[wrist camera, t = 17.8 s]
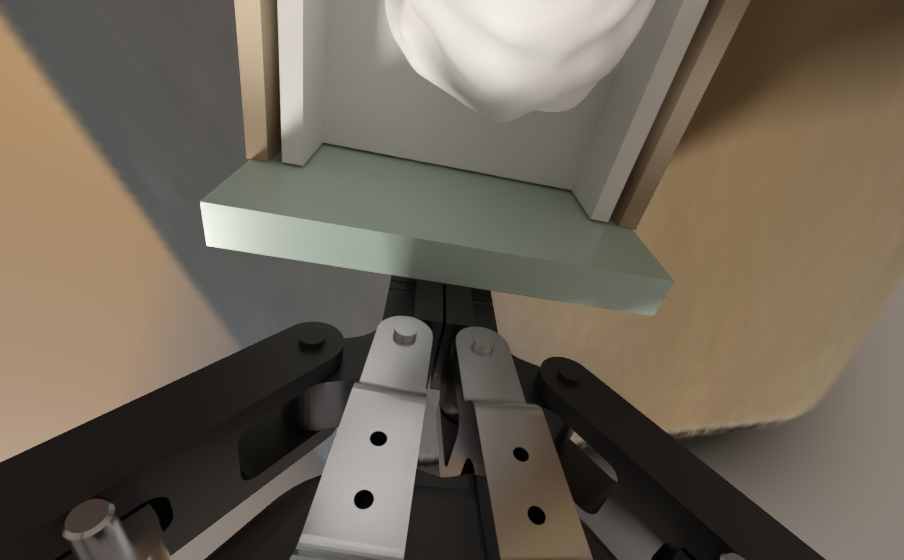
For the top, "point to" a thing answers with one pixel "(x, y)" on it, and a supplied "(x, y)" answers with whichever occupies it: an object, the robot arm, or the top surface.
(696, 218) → the top surface
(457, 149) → the drawer
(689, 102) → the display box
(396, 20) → the white rounded figure
